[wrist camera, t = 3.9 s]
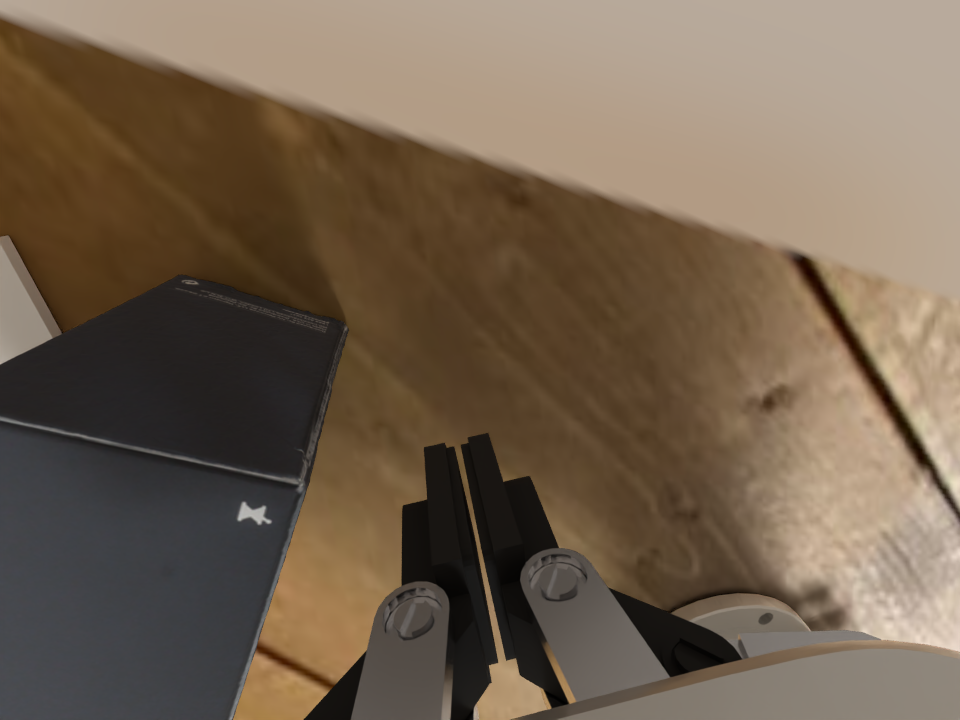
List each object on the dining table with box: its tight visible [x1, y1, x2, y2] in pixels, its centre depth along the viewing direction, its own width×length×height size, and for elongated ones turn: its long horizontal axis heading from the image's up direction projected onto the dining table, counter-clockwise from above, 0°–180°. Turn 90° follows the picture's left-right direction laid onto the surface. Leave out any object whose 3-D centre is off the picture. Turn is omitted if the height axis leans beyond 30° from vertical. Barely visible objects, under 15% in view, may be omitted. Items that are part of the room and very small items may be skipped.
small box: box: [0, 275, 349, 720], centre depth 14 cm, size 11×6×10 cm, turn 158°
